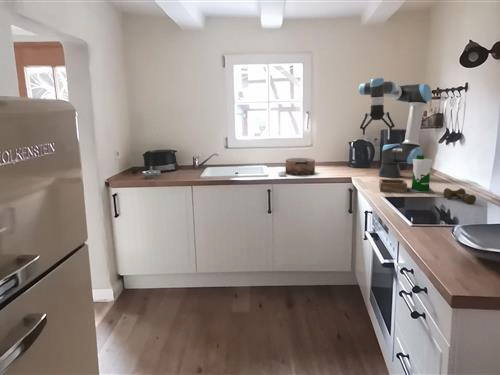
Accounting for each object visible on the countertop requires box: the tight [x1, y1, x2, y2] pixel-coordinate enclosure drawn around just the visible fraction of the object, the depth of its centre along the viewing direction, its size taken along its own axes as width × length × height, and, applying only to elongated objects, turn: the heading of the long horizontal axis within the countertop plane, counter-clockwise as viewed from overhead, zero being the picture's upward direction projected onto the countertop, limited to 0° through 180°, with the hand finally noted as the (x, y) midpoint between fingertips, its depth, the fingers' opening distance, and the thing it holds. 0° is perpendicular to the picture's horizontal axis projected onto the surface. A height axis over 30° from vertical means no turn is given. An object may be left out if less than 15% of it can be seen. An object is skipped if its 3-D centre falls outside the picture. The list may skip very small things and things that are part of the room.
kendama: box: [443, 187, 477, 205], centre depth 202 cm, size 6×10×20 cm
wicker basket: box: [285, 157, 316, 176], centre depth 296 cm, size 30×22×11 cm
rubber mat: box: [407, 186, 435, 195], centre depth 226 cm, size 13×13×1 cm
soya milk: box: [411, 154, 434, 191], centre depth 224 cm, size 9×9×20 cm
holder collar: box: [378, 178, 408, 193], centre depth 230 cm, size 14×14×5 cm
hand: (377, 139), depth 238 cm, fingers open, 13 cm apart
